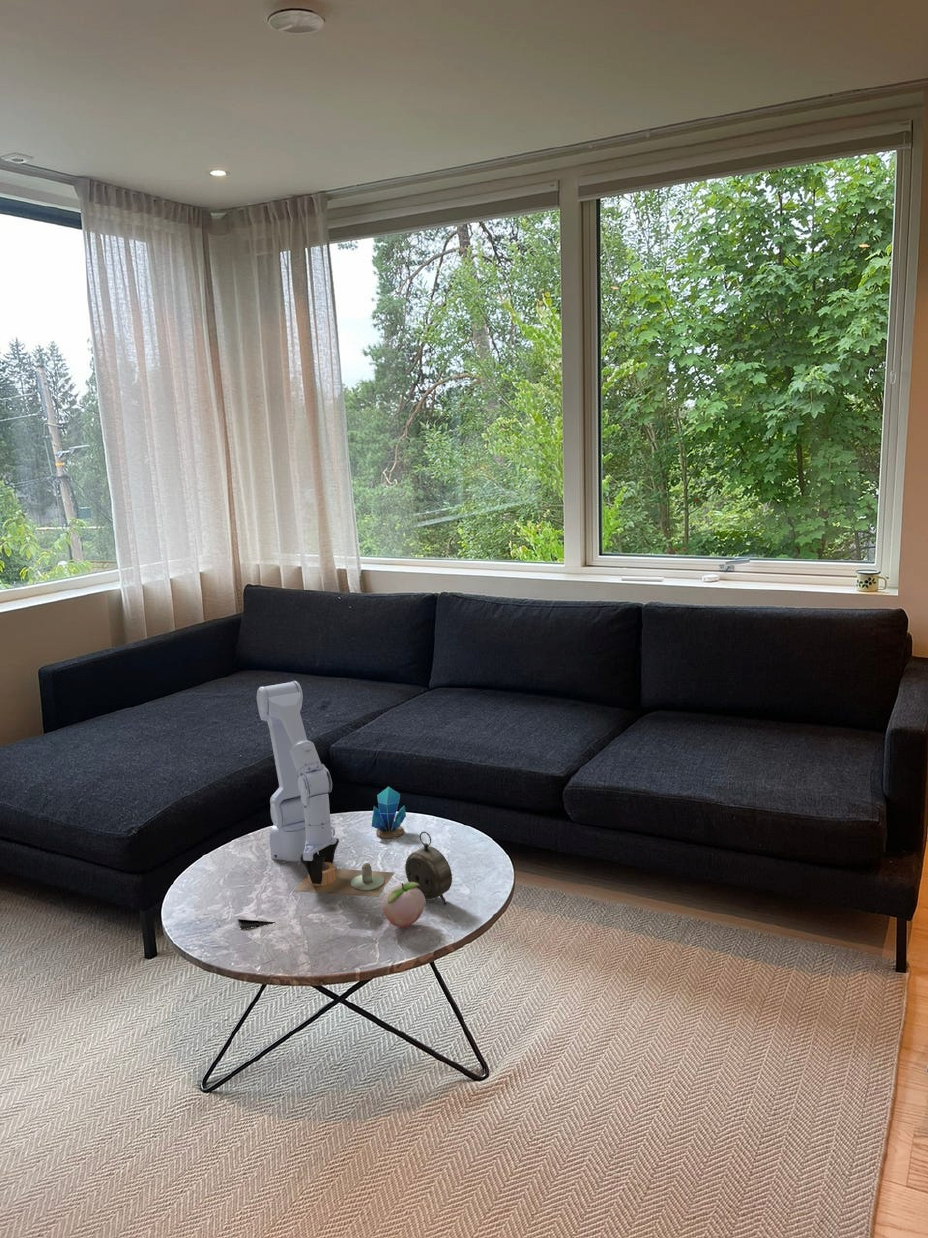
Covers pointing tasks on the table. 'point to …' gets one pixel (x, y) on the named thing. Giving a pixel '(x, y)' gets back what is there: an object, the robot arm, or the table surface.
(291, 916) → the table surface
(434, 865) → the alarm clock
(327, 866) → the ring
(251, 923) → the black wedge
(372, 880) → the stand board
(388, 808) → the gemstone
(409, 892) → the decorative fruit
